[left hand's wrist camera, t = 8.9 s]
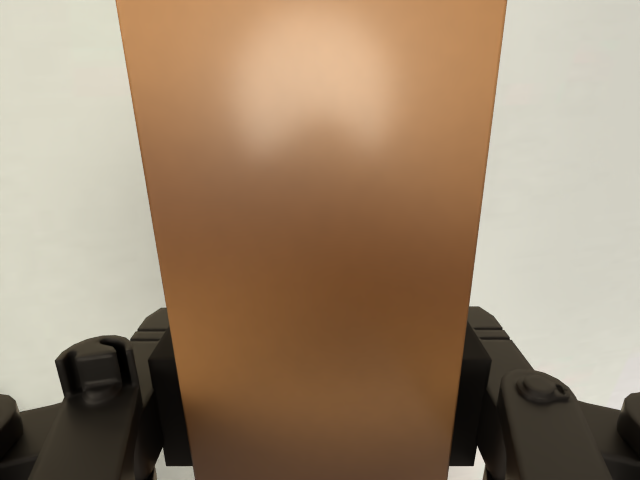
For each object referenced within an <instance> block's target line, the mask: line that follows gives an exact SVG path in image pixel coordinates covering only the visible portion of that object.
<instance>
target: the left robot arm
mask: <svg viewBox="0 0 640 480" xmlns="http://www.w3.org/2000/svg"><path fill="white" fill-rule="evenodd" d="M55 364H56V367H57V371H58V375H59V379H60V382H61V386H62V390H63V393H64V399H63V402H62V403H58V404H54V405H50V406H46V407H41V408H36V409H32V410H27V411H23V412H19V410H18V407H17V404H16V401H15V400H14V399H13V398H12V397H10V396H9V395H3V394H0V480H157V475H156V469H155V464H156V461H157V459H158V457H159V454H160V452H161V450H162V448H163V451H164V456H165V462H166V466H193V464H192V458H191V452H190V446H189V440H188V434H187V428H186V422H185V416H184V410H183V403H182V397H181V391H180V385H179V379H178V373H177V367H176V361H175V355H174V349H173V343H172V337H171V331H170V325H169V319H168V313H167V308H160V309H159V310H157V311H156V312H154V313H153V314H151V315H150V316H148V317H147V318H146V319H145V320H144V321H143V323H142V324H141V325H140V327H139V328H138V331H137V332H135V333H134V335H133V336H132V337H131V339H130V341H129V340H128V339H127V338H125V337H121V336H117V335H108V336H99V337H94V338H90V339H86V340H84V341H81V342H79V343H77V344H74V345H72V346H71V347H69V348H68V349H66V350H65V351H63V352H62V353H61V354H60V355H59V356H58V358H57V359H56V360H55ZM477 446H478V448H479V451H480V453H481V455H482V458H483V460H484V462H485V469H484V475H483V480H640V392H638V393H631V394H630V395H629V396H627V397H626V398H625V399H624V402H623V406H622V409H621V410H617V409H612V408H607V407H603V406H598V405H593V404H589V403H585V402H581V401H578V400H577V399H576V396H575V395H574V394H573V392H572V391H571V390H570V388H569V387H568V386H566V385H565V384H564V383H562V382H561V381H560V380H558V379H557V378H554V377H552V376H550V375H548V374H546V373H543V372H539V371H535V370H534V369H533V368H532V367H531V365H530V364H529V363H528V361H527V360H526V359H525V357H524V356H523V355H522V353H521V352H520V351H519V349H518V348H517V347H516V345H515V344H514V343H513V341H512V340H510V337H509V336H508V335H507V333H506V332H505V331H504V330H503V329H502V327H501V325H500V324H499V323H498V321H497V320H496V319H495V317H494V316H493V315H491V314H489V313H488V312H486V311H485V310H483V309H482V308H480V307H469V310H468V318H467V326H466V334H465V342H464V350H463V358H462V366H461V374H460V382H459V390H458V398H457V406H456V414H455V422H454V430H453V438H452V446H451V454H450V462H449V466H474V461H475V455H476V449H477Z"/></svg>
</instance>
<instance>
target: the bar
mask: <svg viewBox="0 0 640 480" xmlns="http://www.w3.org/2000/svg"><path fill="white" fill-rule="evenodd" d="M116 6H117V12H118V18H119V24H120V30H121V36H122V42H123V48H124V54H125V60H126V66H127V72H128V78H129V84H130V90H131V96H132V102H133V108H134V114H135V120H136V126H137V132H138V138H139V145H140V151H141V157H142V163H143V169H144V175H145V181H146V187H147V193H148V199H149V205H150V211H151V217H152V223H153V229H154V235H155V241H156V247H157V253H158V259H159V265H160V271H161V277H162V283H163V289H164V295H165V301H166V307H167V313H168V319H169V325H170V331H171V337H172V343H173V349H174V355H175V361H176V367H177V373H178V379H179V385H180V391H181V397H182V403H183V410H184V416H185V422H186V428H187V434H188V440H189V446H190V452H191V458H192V464H193V470H194V476H195V480H447V478H448V470H449V462H450V454H451V446H452V438H453V430H454V422H455V414H456V406H457V398H458V390H459V382H460V374H461V366H462V358H463V350H464V342H465V334H466V326H467V318H468V310H469V302H470V294H471V286H472V278H473V270H474V262H475V254H476V246H477V238H478V230H479V222H480V214H481V206H482V198H483V190H484V182H485V174H486V166H487V158H488V150H489V142H490V134H491V126H492V118H493V110H494V102H495V94H496V86H497V78H498V70H499V62H500V54H501V46H502V38H503V30H504V22H505V14H506V6H507V0H116Z"/></svg>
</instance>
